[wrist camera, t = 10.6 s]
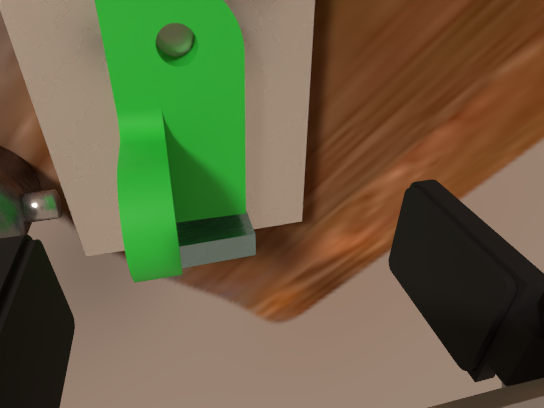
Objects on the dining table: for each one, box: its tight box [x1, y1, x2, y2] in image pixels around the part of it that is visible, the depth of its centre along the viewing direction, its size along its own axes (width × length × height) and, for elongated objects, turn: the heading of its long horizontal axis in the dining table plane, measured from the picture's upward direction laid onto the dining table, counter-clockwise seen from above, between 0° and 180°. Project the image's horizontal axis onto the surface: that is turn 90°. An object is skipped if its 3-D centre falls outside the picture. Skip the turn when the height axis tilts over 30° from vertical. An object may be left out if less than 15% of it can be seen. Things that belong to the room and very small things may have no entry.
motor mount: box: [0, 0, 315, 268], centre depth 20 cm, size 22×18×6 cm
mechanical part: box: [95, 0, 246, 282], centre depth 17 cm, size 12×6×8 cm, turn 179°
